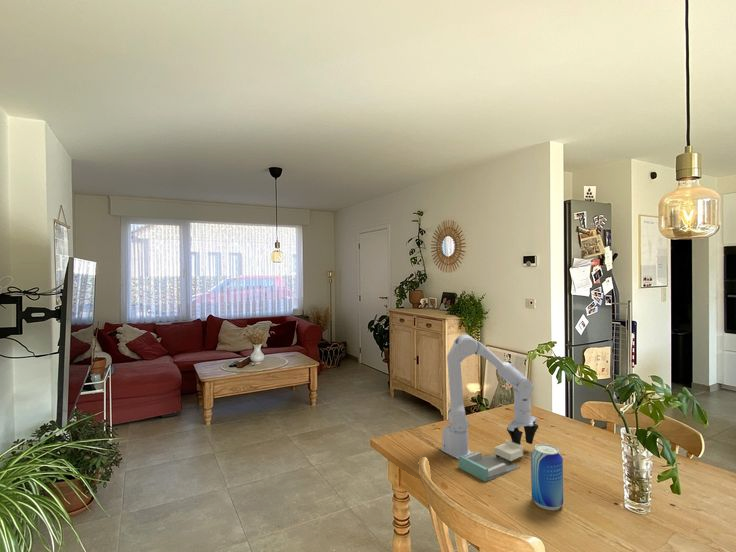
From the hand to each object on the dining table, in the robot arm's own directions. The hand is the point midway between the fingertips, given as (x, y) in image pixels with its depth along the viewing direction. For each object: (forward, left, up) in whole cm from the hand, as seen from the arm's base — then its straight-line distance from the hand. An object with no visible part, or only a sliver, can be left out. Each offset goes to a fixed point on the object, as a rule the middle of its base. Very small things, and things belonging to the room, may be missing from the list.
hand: (523, 445), depth 148 cm
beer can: (+24, -22, -3) cm, 33 cm away
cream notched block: (0, -8, -3) cm, 9 cm away
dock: (0, -19, -3) cm, 20 cm away
